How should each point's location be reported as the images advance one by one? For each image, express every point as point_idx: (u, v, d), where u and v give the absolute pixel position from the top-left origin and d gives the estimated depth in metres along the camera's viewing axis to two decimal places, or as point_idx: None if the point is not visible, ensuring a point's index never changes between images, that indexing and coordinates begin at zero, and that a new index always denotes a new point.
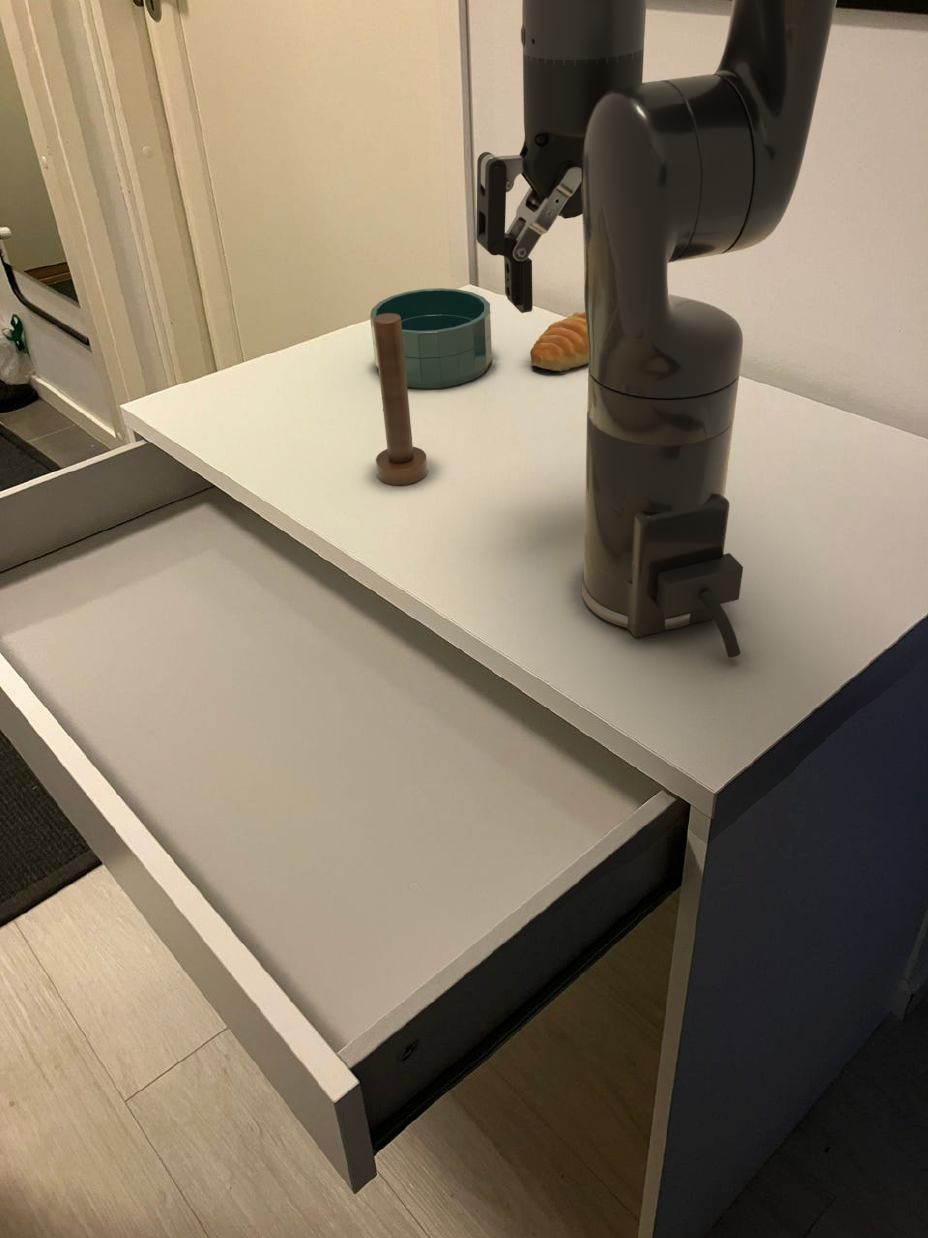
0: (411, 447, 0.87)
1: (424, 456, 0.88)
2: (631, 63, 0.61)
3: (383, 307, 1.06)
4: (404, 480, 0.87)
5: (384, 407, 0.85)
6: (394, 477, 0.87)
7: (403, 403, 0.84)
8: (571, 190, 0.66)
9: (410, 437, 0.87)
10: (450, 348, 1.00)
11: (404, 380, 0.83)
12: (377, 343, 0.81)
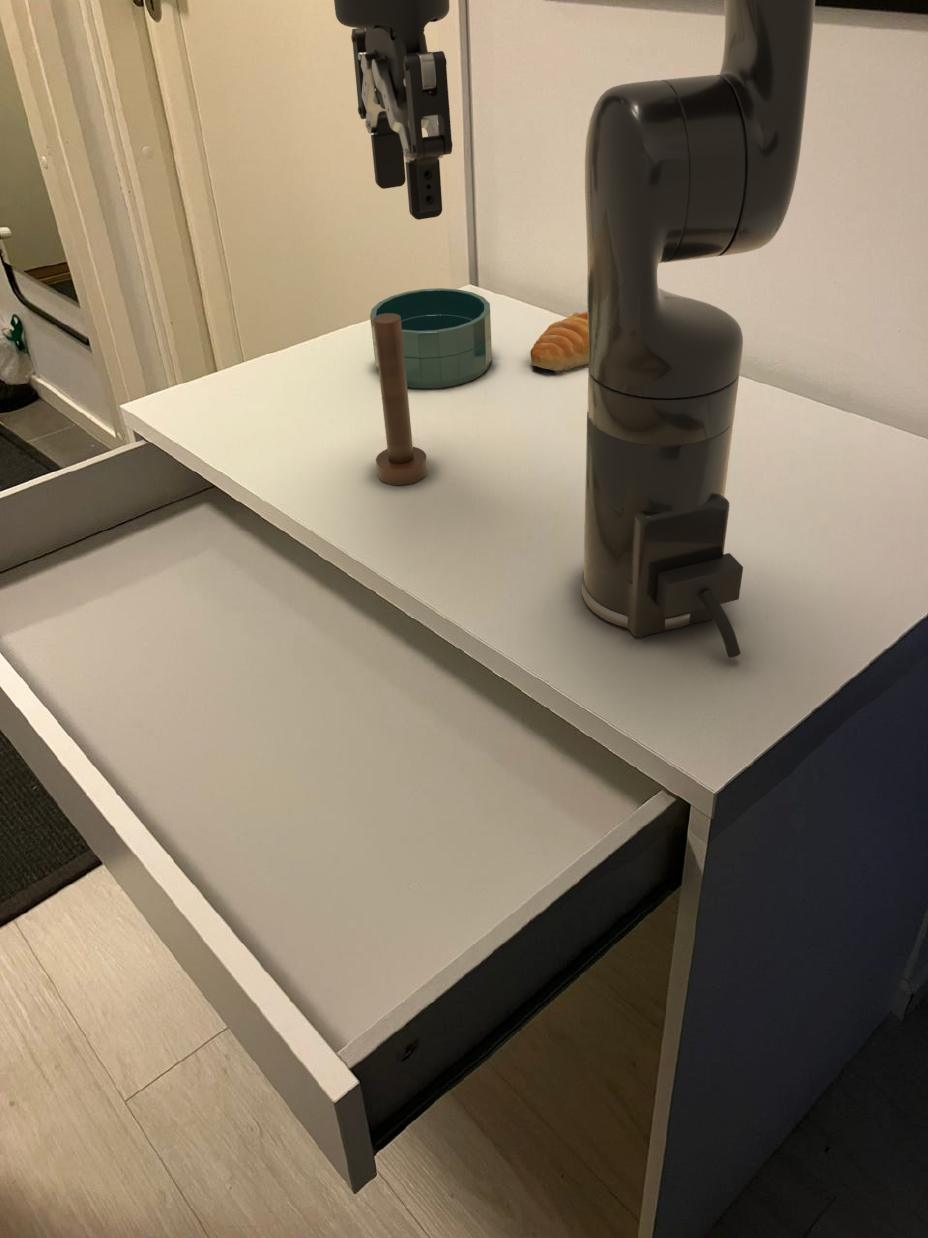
0: (411, 447, 0.87)
1: (424, 456, 0.88)
2: None
3: (383, 307, 1.06)
4: (404, 480, 0.87)
5: (384, 407, 0.85)
6: (394, 477, 0.87)
7: (403, 403, 0.84)
8: (364, 76, 0.70)
9: (410, 437, 0.87)
10: (450, 348, 1.00)
11: (404, 380, 0.83)
12: (377, 343, 0.81)
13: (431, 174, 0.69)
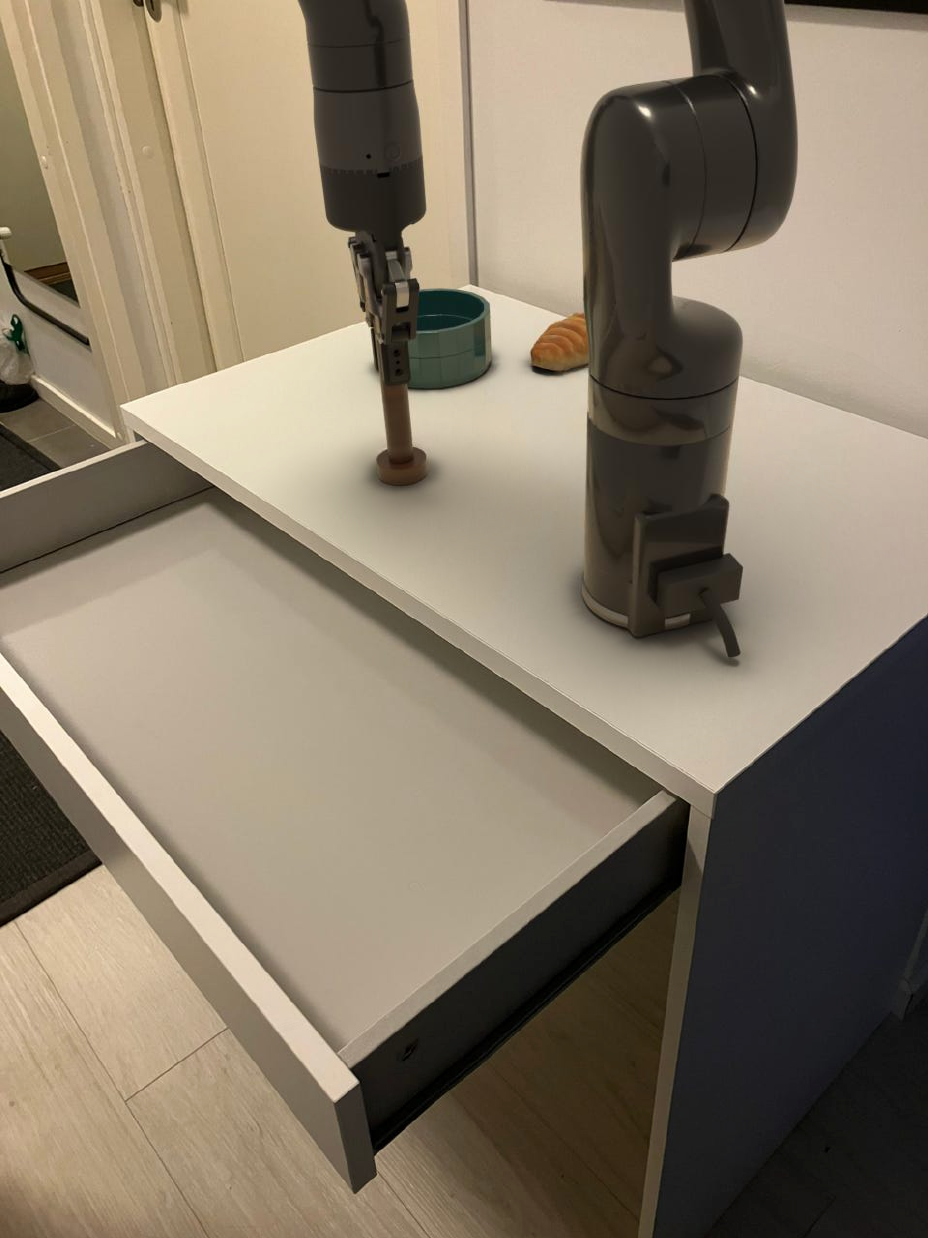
0: (411, 447, 0.87)
1: (424, 456, 0.88)
2: (332, 176, 0.72)
3: None
4: (404, 480, 0.87)
5: (384, 407, 0.85)
6: (394, 477, 0.87)
7: (403, 403, 0.84)
8: (352, 262, 0.79)
9: (410, 437, 0.87)
10: (450, 348, 1.00)
11: None
12: (377, 343, 0.81)
13: (400, 352, 0.80)
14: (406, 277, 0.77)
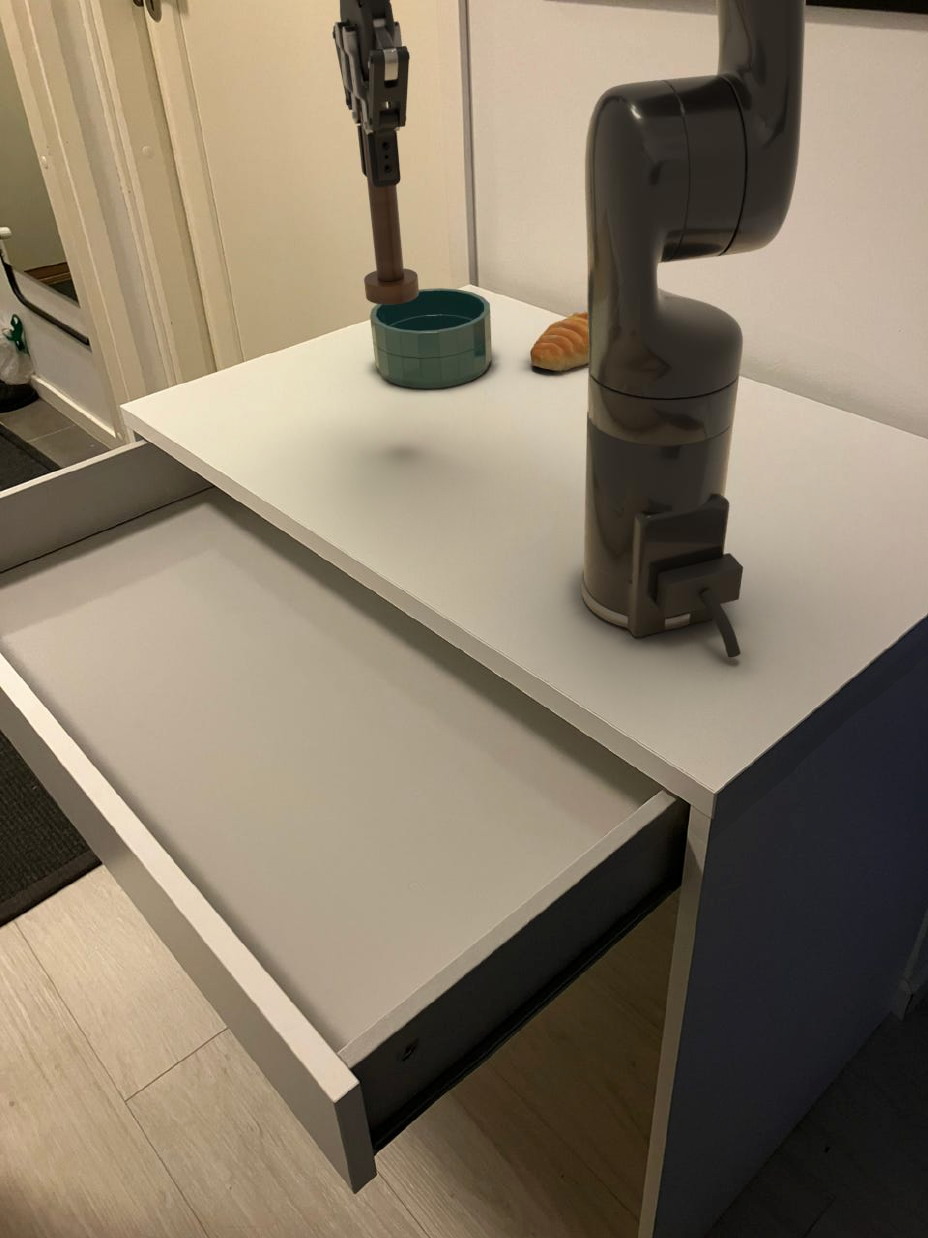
0: (401, 264, 0.82)
1: (415, 275, 0.83)
2: None
3: (383, 307, 1.06)
4: (394, 299, 0.82)
5: (372, 215, 0.79)
6: (383, 295, 0.82)
7: (393, 210, 0.79)
8: (337, 44, 0.73)
9: (400, 252, 0.81)
10: (450, 348, 1.00)
11: None
12: (364, 138, 0.76)
13: (389, 145, 0.75)
14: None
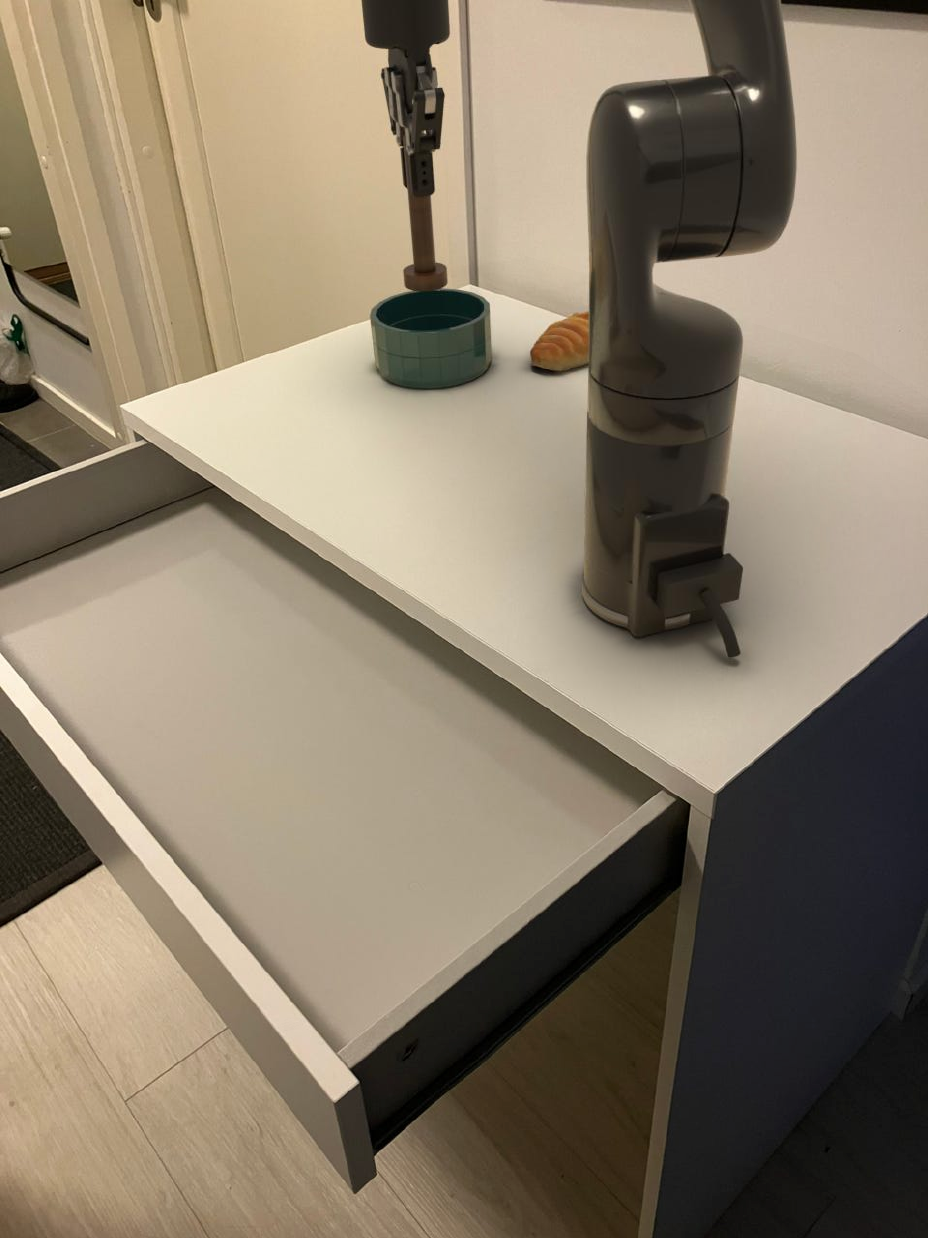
0: (434, 258, 1.01)
1: (445, 267, 1.02)
2: None
3: (383, 307, 1.06)
4: (428, 286, 1.01)
5: (411, 219, 0.99)
6: (419, 284, 1.01)
7: (427, 215, 0.98)
8: (386, 84, 0.93)
9: (433, 248, 1.01)
10: (450, 348, 1.00)
11: None
12: (406, 157, 0.95)
13: (426, 163, 0.94)
14: None
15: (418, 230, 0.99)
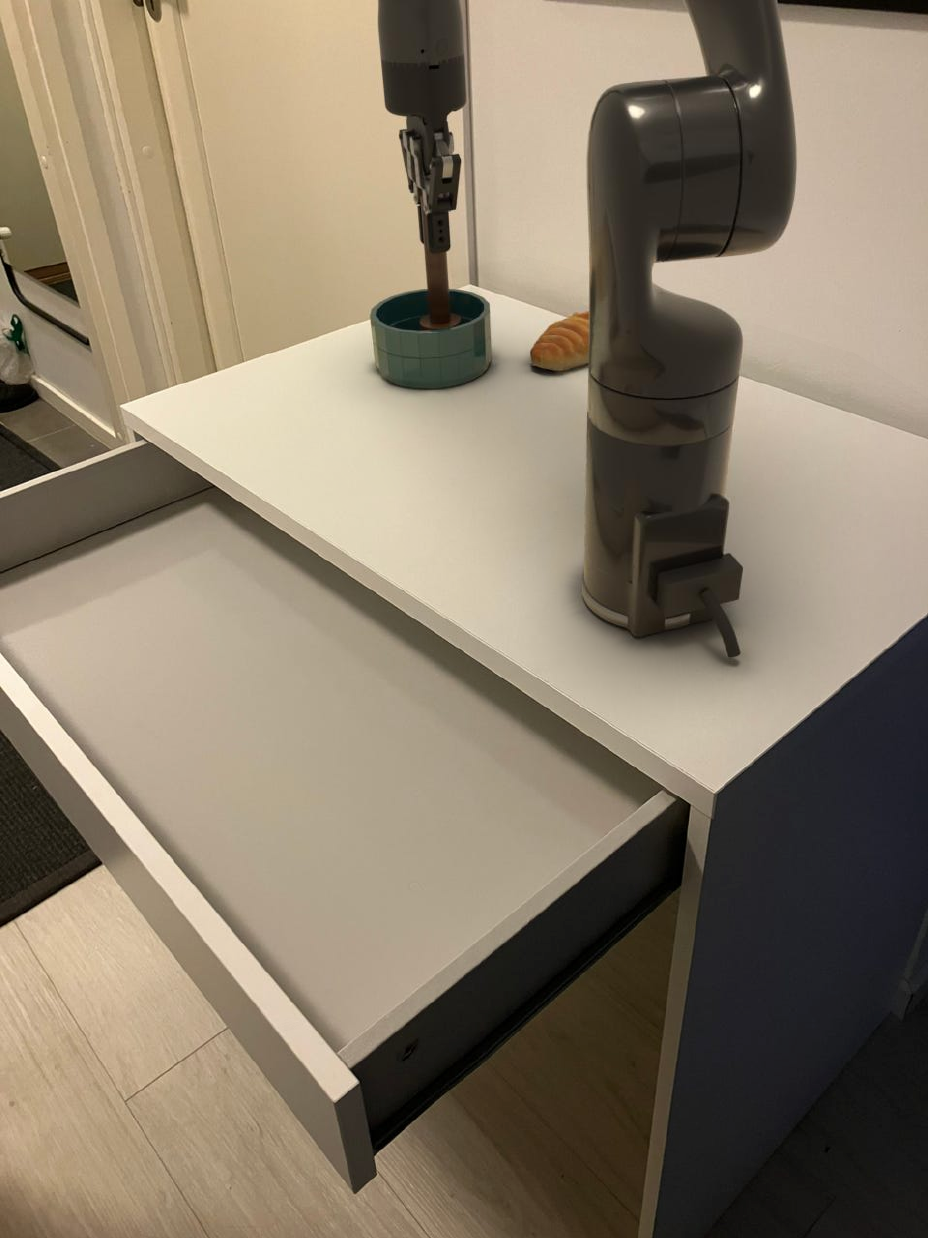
0: (449, 310, 1.05)
1: (459, 318, 1.06)
2: (392, 68, 0.89)
3: (383, 307, 1.06)
4: None
5: (427, 273, 1.02)
6: None
7: (443, 269, 1.02)
8: (404, 147, 0.96)
9: (448, 301, 1.04)
10: (450, 348, 1.00)
11: None
12: (423, 216, 0.99)
13: (442, 222, 0.98)
14: None
15: (434, 284, 1.02)
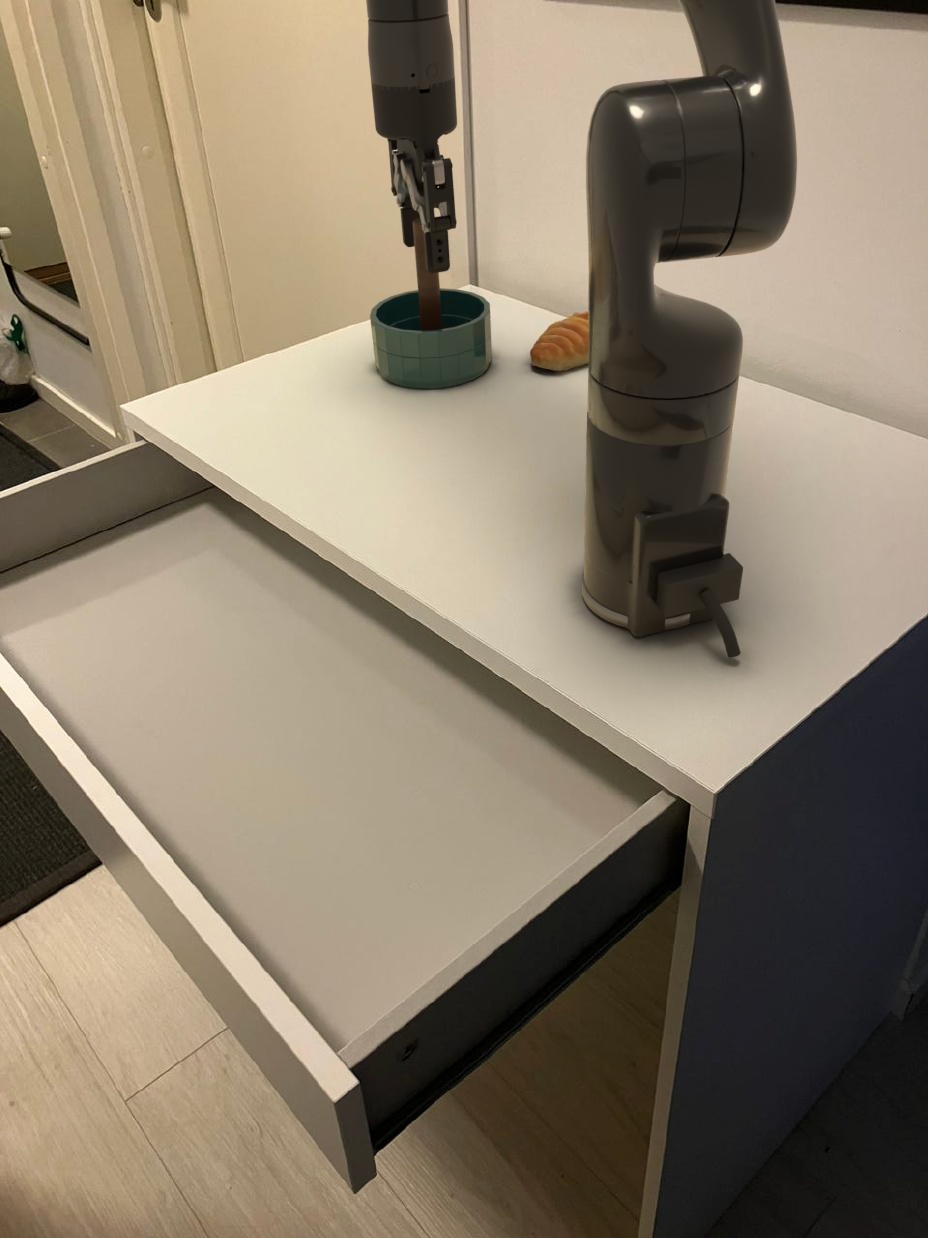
0: None
1: None
2: (382, 92, 0.89)
3: (383, 307, 1.06)
4: None
5: (420, 298, 1.02)
6: None
7: (436, 294, 1.02)
8: (395, 169, 0.96)
9: (441, 325, 1.04)
10: (450, 348, 1.00)
11: (437, 274, 1.01)
12: (415, 242, 0.99)
13: (441, 241, 0.95)
14: None
15: (427, 309, 1.02)
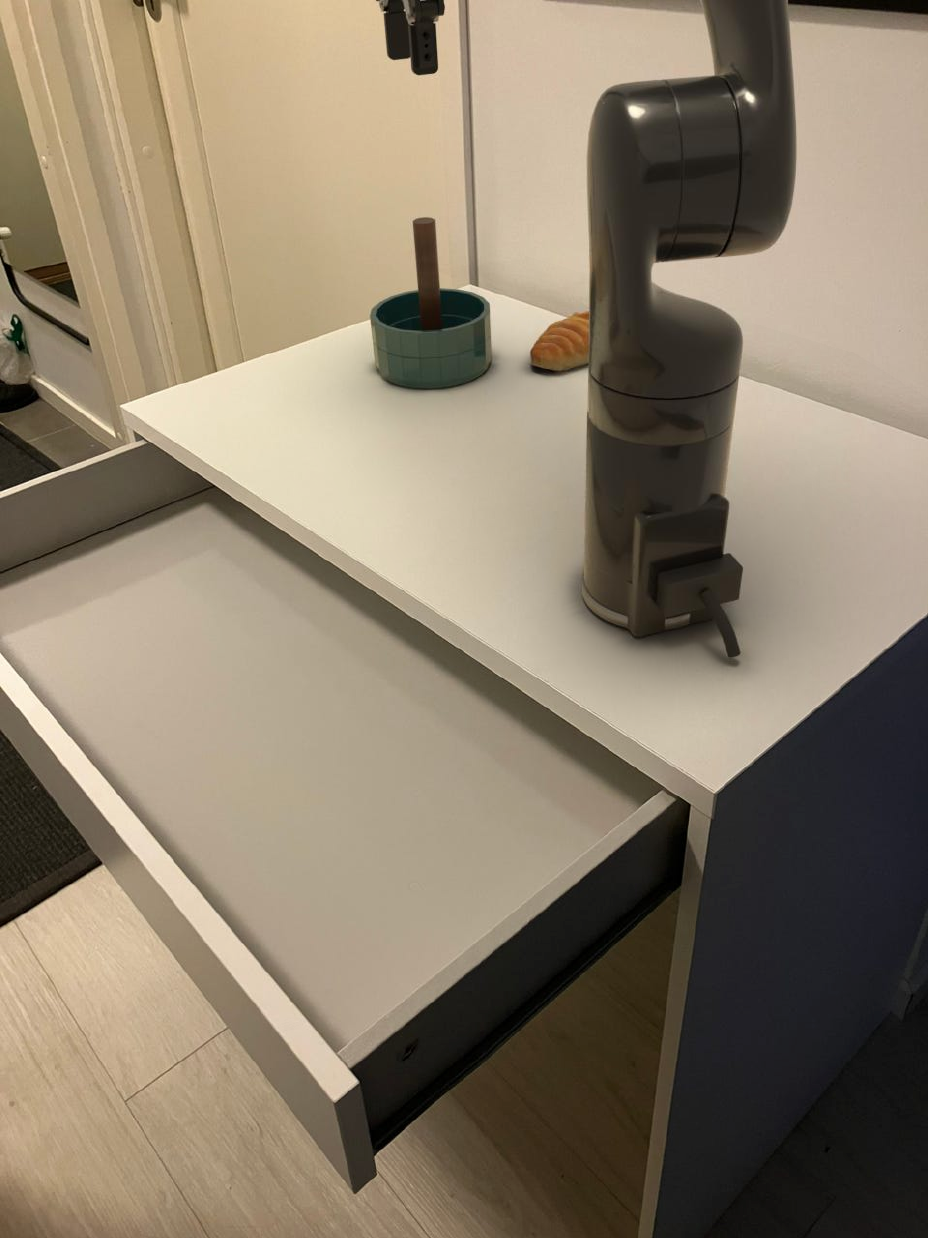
0: None
1: None
2: None
3: (383, 307, 1.06)
4: None
5: (420, 298, 1.02)
6: None
7: (436, 294, 1.02)
8: None
9: (441, 325, 1.04)
10: (450, 348, 1.00)
11: (437, 274, 1.01)
12: (415, 242, 0.99)
13: (428, 35, 0.84)
14: None
15: (427, 309, 1.02)
